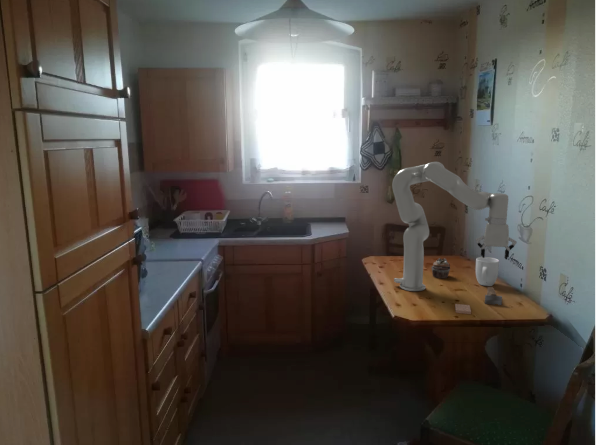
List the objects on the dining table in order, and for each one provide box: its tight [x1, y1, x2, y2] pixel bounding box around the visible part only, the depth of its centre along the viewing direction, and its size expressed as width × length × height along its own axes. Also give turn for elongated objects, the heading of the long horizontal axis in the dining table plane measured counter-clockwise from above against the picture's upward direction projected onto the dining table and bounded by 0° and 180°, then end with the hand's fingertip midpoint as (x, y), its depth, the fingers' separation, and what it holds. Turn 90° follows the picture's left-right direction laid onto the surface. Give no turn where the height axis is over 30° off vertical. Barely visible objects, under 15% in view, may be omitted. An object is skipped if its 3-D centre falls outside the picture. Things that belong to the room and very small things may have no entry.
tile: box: [454, 303, 472, 315], centre depth 206 cm, size 6×2×8 cm
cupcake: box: [431, 257, 451, 279], centre depth 255 cm, size 10×10×10 cm
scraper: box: [484, 286, 503, 306], centre depth 218 cm, size 7×12×4 cm, turn 165°
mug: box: [475, 256, 500, 287], centre depth 239 cm, size 15×11×13 cm
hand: (494, 258), depth 215 cm, fingers open, 9 cm apart
